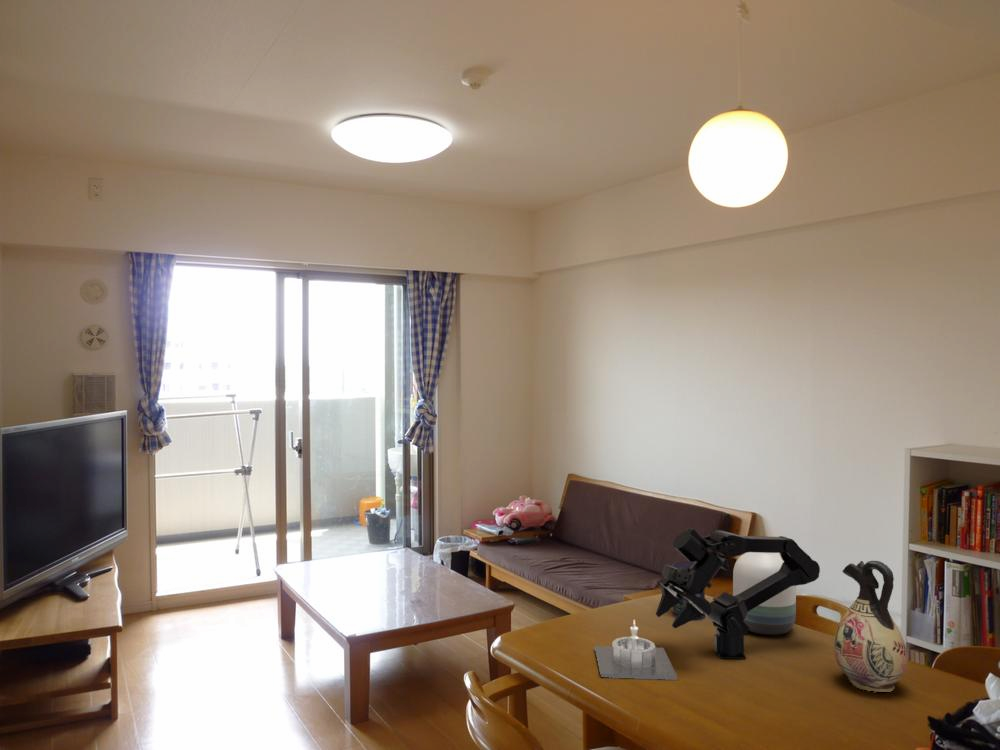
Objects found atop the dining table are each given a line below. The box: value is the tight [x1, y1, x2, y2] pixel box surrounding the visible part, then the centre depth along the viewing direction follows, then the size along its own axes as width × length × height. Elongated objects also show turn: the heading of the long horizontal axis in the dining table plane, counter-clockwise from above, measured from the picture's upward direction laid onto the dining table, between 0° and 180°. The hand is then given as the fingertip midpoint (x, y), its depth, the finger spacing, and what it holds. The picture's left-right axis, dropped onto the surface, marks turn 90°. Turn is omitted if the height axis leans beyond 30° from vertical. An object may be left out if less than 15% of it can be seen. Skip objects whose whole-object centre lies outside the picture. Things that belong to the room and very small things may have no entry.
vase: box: [732, 552, 797, 636], centre depth 205 cm, size 17×17×24 cm
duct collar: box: [594, 636, 678, 681], centre depth 179 cm, size 18×18×5 cm
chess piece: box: [629, 619, 639, 650], centre depth 179 cm, size 5×5×10 cm
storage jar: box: [672, 561, 706, 622], centre depth 217 cm, size 10×10×15 cm
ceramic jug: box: [833, 560, 908, 693], centre depth 166 cm, size 17×15×30 cm
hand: (665, 621), depth 181 cm, fingers open, 9 cm apart
